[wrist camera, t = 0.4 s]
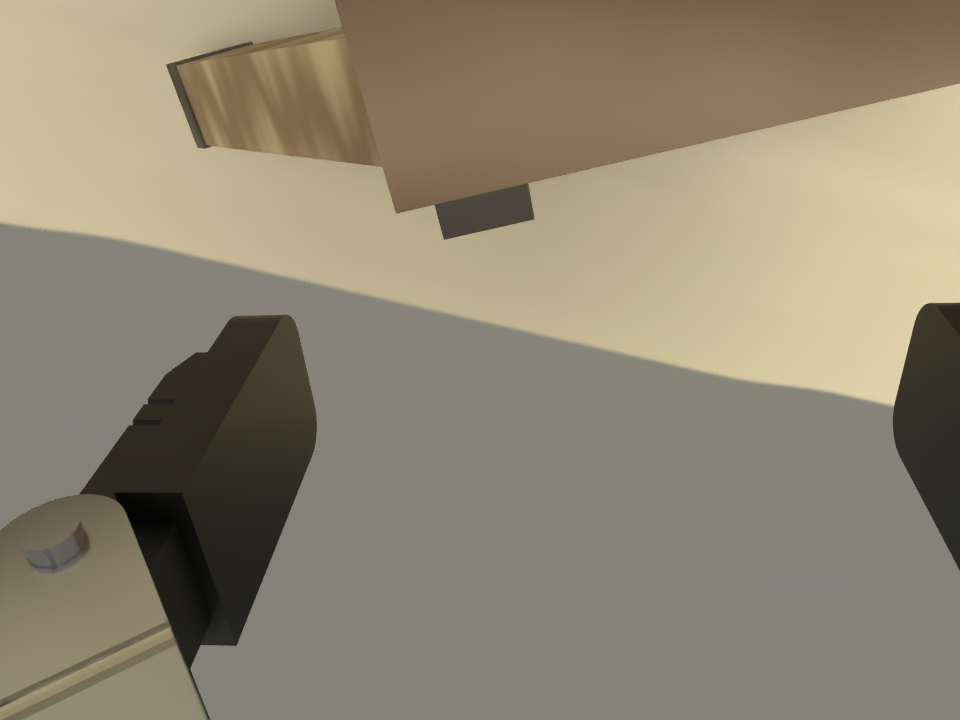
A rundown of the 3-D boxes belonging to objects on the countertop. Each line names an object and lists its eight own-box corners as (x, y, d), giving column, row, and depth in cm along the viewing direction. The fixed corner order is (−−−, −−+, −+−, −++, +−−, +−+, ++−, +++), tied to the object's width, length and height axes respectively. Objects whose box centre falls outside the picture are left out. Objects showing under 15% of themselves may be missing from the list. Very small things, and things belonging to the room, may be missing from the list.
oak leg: (166, 64, 31) (392, 25, 17) (243, 43, 33) (517, -11, 18) (197, 147, 33) (433, 179, 18) (271, 123, 34) (546, 134, 19)
